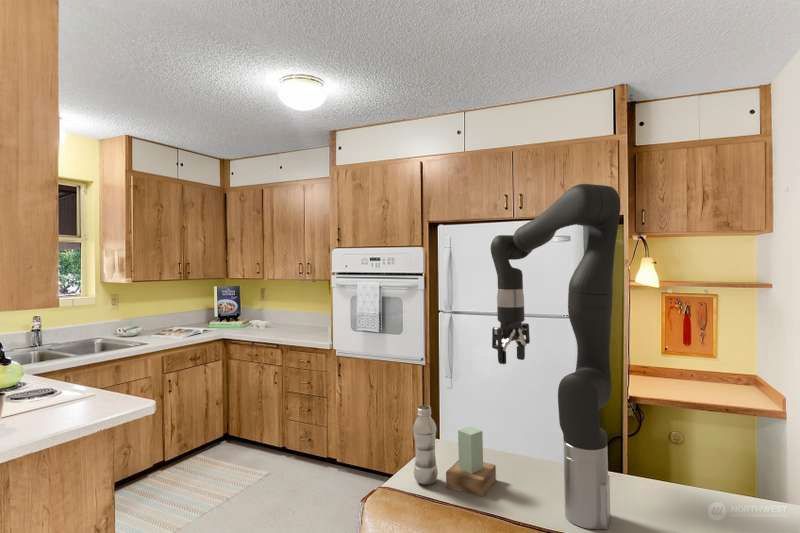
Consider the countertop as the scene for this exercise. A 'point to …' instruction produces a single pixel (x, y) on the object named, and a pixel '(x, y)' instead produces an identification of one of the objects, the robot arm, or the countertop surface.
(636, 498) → the countertop surface
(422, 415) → the plastic bottle
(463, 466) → the block
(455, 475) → the base
